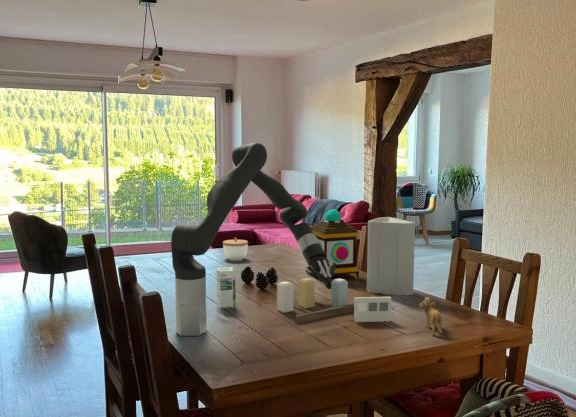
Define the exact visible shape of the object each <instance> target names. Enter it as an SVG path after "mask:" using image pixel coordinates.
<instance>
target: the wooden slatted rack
mask: <svg viewBox="0 0 576 417" xmlns="http://www.w3.org/2000/svg"><path fill="white" fill-rule="evenodd" d="M316 305H317V306H319V307H323V308H324V309H320V310H316V311H310V310H307V309H306V308H303V307H301V306H299V305H298V306H297V305H295V304H293V309H294V310H295V309H296V310H297V311H301V312H303V313H301V314H296V315H294V323H295V324H297V325H298V324H303V323H307V322H311V321H317V320H321V319H325V318H331V317H334V316H338V315H339V316H340V315H344V314H349V313H354V303H350V304H347V305H344V306H339V307H332V306H329V305H326V304H323V303H322V302H321V303H320V302H318V301H315V306H316Z"/></svg>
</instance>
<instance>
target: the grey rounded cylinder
mask: <svg viewBox="0 0 576 417" xmlns="http://www.w3.org/2000/svg"><path fill="white" fill-rule="evenodd" d="M348 287H349V282H348V281H347V280H346V279H343V278H334V279H333V280H332V283H331V289H330V290H331V292H330V293H331V294H330V295H331V298H330V299H331V301H330V304H331V306H330V307H332V308H334V307H339V306H344V305H349V304H348V298H349V297H348V295H349V294H348V292H349V288H348Z"/></svg>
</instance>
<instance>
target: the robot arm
mask: <svg viewBox="0 0 576 417" xmlns="http://www.w3.org/2000/svg"><path fill="white" fill-rule="evenodd" d="M231 159H232V162H233V165H234V166H235V167H234V168H232V169H231V170H229V171H228V172H226V173H225V174H223V176H221V177H220V178H218V179H217V181H216V182H215V183H214V184H213V186H212V187H211V189H210V190H209V192H208V194H207V196H206V208H207V213H206V215H205V217H204V219H203V220H202V221H201V222H200V223H199V224H193V223H192V224H190V223H180V224H178V225H176V226H175V227H174V228H173V231H172V233H171V238H170V245H171V248H170V249H171V258H172V261H171V262H172V269H173V271H174V279H175V281H174V282H175V283H174V284H175V331H176V333H177V334H178V335H179V336H180V337H189V336H191V337H192V336H199V337H200V336H201V335H202V334H205V333H206V332H207V330H208V329H207V327H208V326H207V281H206V280H207V277H206V276H207V270H206V267H205V266H204V265H203V264H201V263H200V262H199V261H197V259H195V256H203V255H205V254H206V253H207V252H208V251H209V249H210V248H211V246H212V244H213V242H214V240H215V238H216V237H217V234H218V233H219V231H220V229H221V227H222V225H223V224H224V222H225V220H226V218H227V217H228V216H229V214H230V212H231V211H232V210H233V208H234V207H235V206H236V204H237V202H238V201H239V199H240V198H241V196H242V194H244V191H245V190H246V189H247V187H248V186H249V184H250V183H251V182H252V183H253V184H254V185H255V186H257V188H259V189H260V191H262V193H264V194H265V195H266V197H267V198H268V199H269V200H270V202H271V203H272V205H274V207H275V208H276V209H278V210H281V211H280V213H279V219H280V221H281V222H282V223H283V225H284V226H286V227H287V229H289V232H291V233H292V235H293V236H294V239H295V240H296V242H297V245H298V247H299V250H300V252H301V255H302V256H303V258H304V260H305V262H306V264H307V266H309V267H308V268H307V267H306V270H305V273H307V274H308V275H309V276H311V277H312V278H313V279H316V280H317V281H321V282H322V283H323V284H324V286H325V288H326V289H327V290H331V283H332V281H333V279H332V278H333V276H335V275H334V272H335V267H336V263H333V264H332V263H330V262H329V260H328V259H327V258H326V256H325V252H324V250H323V248H322V246H321V245H320V243H319V241H318V239H317V238H316V236H315V235H314V233H313V231H312V229H311V226H310V224H309V223H307V222H301V221H302V220H304V219H306V218H307V216H308V210H307V207H306V206H305V204H303V203H302V202H301V201H300V200H297V199H296V198H294V197H293V196H292V195H291V194H290V193H289V191H288V190H287V189H286V188H285V186H284V185H283V184H282V183H281V182H279V180H277V179H275V178H273V177H272V176H270V175H268V174H266V173H265V172H264V171H262V169H263V167H264V166H265V165H266V163H267V159H268V152H267V149H266V146H264V145H263V144H262V143H260V142H251V143H247V144H243V145H239V146H236V147H235V148H234V149H233V151H232V153H231ZM299 222H300V223H299ZM328 266H329V268H328ZM329 269H330V270H329Z"/></svg>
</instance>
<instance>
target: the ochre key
mask: <svg viewBox="0 0 576 417" xmlns="http://www.w3.org/2000/svg"><path fill="white" fill-rule="evenodd" d="M313 279H314V278H313ZM313 279H312V278H310V277H305V278H300V279H299V280H298V307H300V308H303V309H309V308H313V307H315V306H316V304H315V299H316V298H315V296H316V295H315V294H316V290H315V286H316V283H315V282H316V281H315V280H313Z"/></svg>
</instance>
